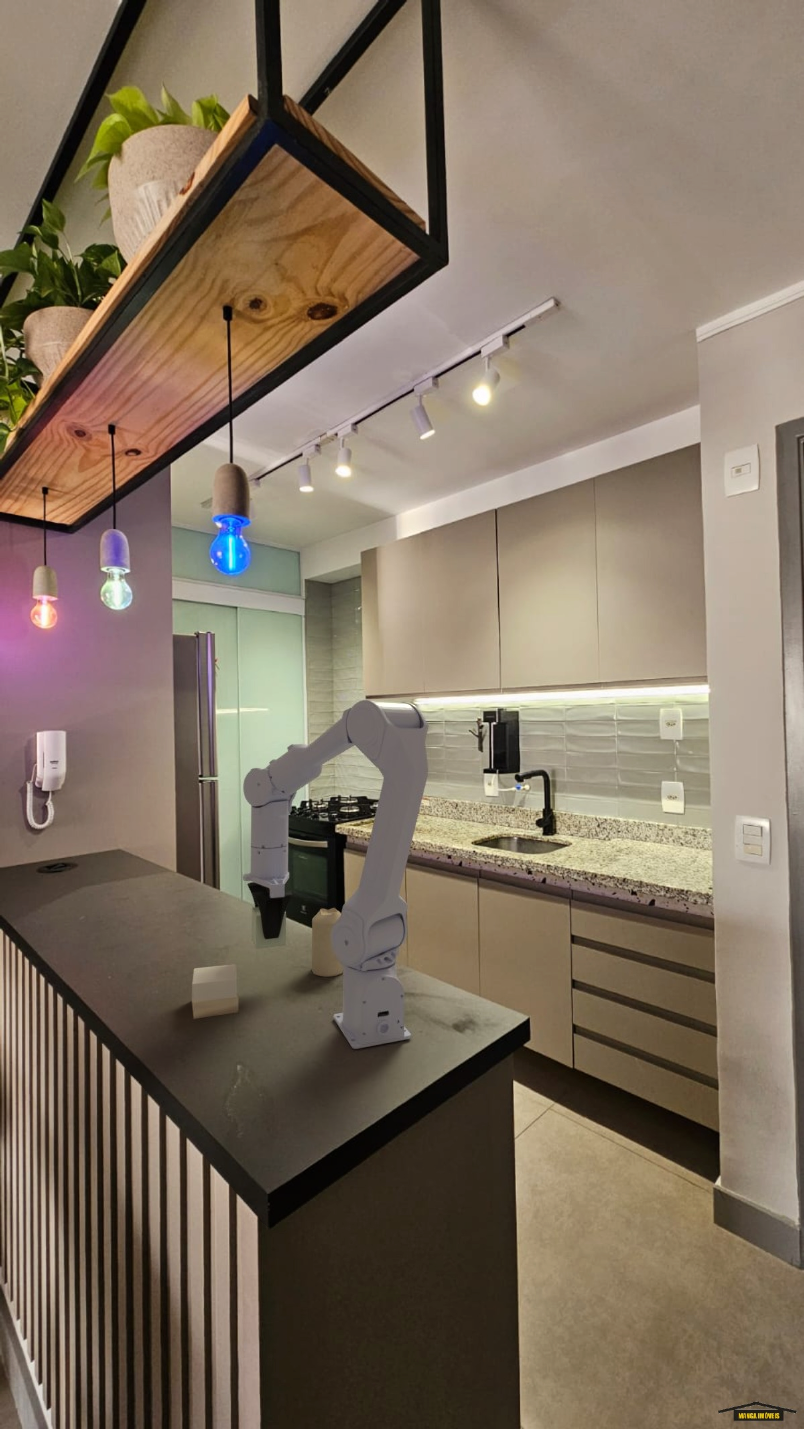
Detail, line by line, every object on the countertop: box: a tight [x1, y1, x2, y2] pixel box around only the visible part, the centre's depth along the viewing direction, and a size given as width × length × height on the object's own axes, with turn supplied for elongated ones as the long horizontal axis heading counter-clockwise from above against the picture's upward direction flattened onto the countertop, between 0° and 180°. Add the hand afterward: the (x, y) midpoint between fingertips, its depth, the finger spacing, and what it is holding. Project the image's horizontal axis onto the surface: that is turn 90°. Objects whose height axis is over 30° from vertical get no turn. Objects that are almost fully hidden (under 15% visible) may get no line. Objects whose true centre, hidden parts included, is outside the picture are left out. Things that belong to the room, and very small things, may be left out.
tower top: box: [191, 963, 238, 1003], centre depth 92 cm, size 6×6×2 cm
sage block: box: [251, 906, 287, 950], centre depth 98 cm, size 4×4×5 cm
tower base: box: [191, 993, 239, 1020], centre depth 92 cm, size 6×6×2 cm
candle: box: [311, 907, 343, 978], centre depth 105 cm, size 6×6×10 cm
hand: (268, 932), depth 98 cm, fingers closed on sage block, 4 cm apart
